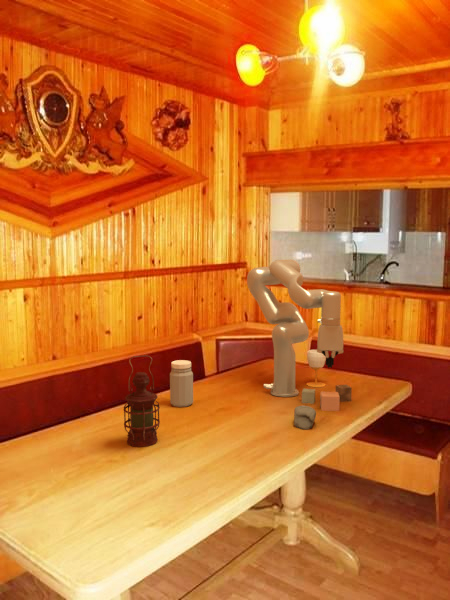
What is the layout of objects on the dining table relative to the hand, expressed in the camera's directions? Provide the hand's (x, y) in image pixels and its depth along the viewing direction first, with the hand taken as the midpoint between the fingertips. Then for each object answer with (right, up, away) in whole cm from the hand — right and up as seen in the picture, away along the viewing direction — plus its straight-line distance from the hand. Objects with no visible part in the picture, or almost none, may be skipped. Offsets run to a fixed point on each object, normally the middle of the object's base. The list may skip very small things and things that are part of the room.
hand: (329, 366), depth 228 cm
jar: (-61, -17, +8) cm, 63 cm away
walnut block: (+8, -16, +13) cm, 22 cm away
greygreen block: (-7, -16, +10) cm, 20 cm away
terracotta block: (0, -17, +1) cm, 17 cm away
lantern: (-71, -22, -35) cm, 82 cm away
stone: (-13, -20, -19) cm, 30 cm away
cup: (+1, -13, +38) cm, 40 cm away
